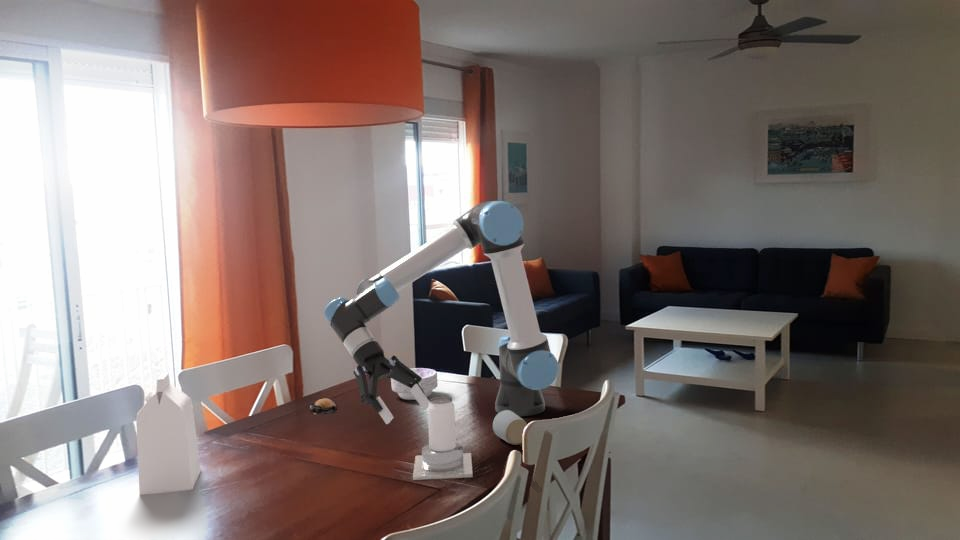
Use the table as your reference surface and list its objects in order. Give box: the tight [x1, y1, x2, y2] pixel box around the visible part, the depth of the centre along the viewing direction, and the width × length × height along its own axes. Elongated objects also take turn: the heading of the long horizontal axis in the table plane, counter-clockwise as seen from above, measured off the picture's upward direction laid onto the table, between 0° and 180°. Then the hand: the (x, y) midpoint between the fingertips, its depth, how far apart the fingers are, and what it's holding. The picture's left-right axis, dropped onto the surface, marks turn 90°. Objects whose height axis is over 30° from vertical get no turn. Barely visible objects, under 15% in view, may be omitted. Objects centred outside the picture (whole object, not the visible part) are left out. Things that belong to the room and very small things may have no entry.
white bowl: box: [390, 367, 438, 401], centre depth 245 cm, size 15×15×8 cm
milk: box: [135, 372, 202, 496], centre depth 176 cm, size 12×12×26 cm
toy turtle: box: [309, 397, 339, 416], centre depth 234 cm, size 11×8×4 cm
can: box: [427, 396, 457, 452], centre depth 180 cm, size 6×6×12 cm
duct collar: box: [412, 442, 473, 481], centre depth 181 cm, size 14×14×5 cm
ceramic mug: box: [492, 410, 528, 446], centre depth 198 cm, size 11×8×8 cm
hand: (409, 413), depth 186 cm, fingers open, 13 cm apart
